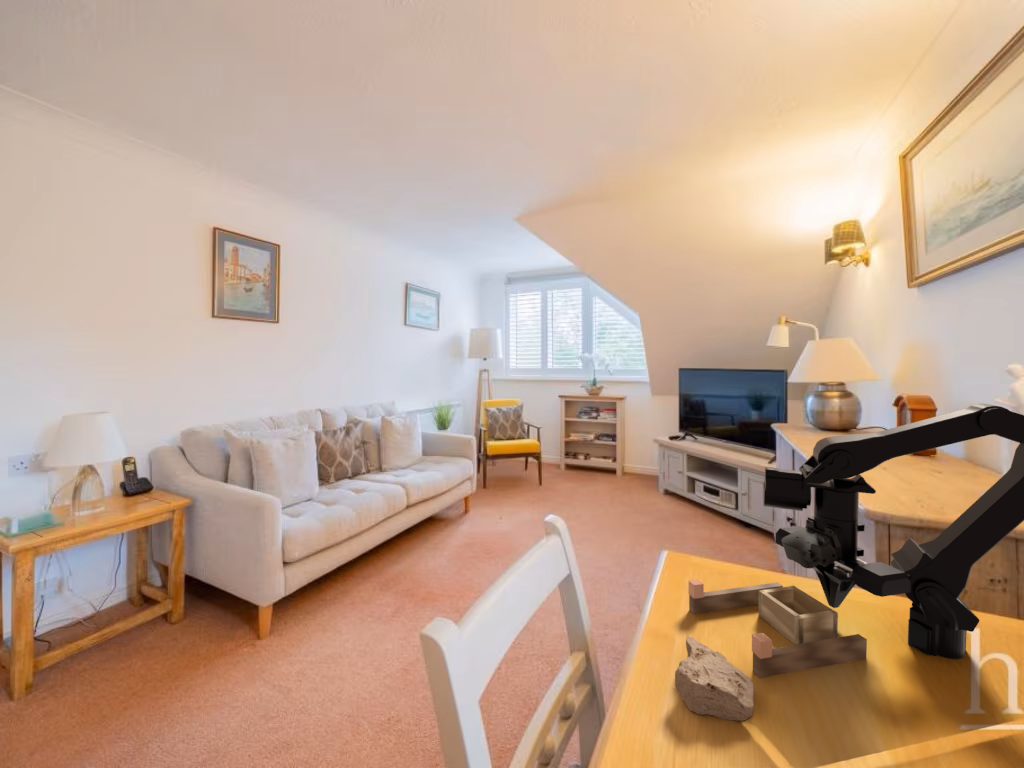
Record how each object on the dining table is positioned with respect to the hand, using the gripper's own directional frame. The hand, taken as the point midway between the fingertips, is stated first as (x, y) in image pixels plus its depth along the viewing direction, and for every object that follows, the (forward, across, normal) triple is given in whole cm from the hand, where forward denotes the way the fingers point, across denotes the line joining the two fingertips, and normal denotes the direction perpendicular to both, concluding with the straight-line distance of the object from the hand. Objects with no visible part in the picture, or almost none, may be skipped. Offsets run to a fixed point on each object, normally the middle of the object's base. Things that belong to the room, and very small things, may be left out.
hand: (833, 606), depth 68 cm
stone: (+4, +8, -29) cm, 30 cm away
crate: (+3, 0, -7) cm, 8 cm away
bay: (+4, 0, -12) cm, 13 cm away
